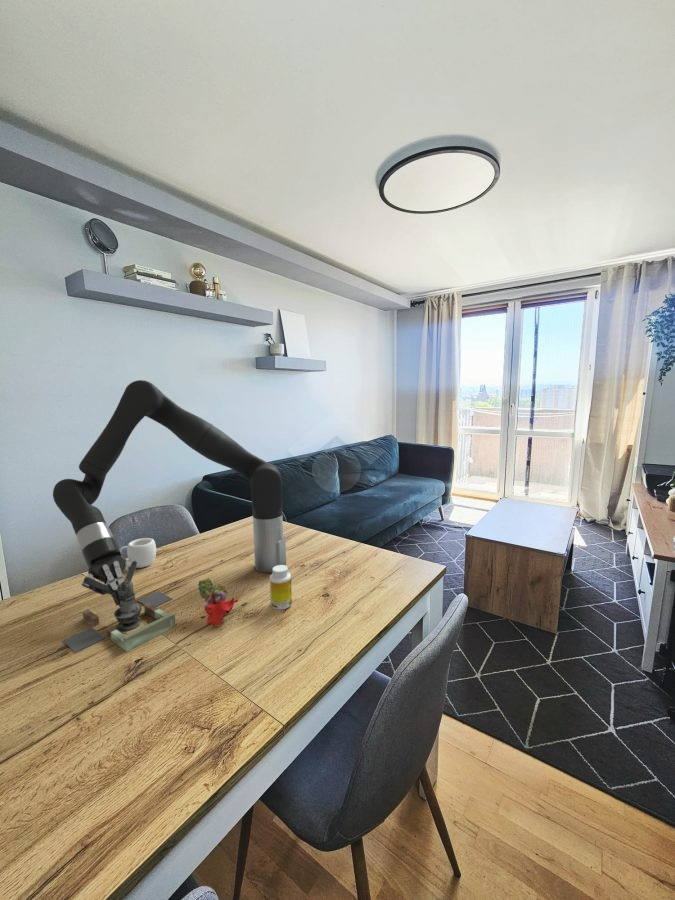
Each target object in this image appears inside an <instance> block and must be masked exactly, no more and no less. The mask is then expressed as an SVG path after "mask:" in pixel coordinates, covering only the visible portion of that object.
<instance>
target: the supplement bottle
mask: <svg viewBox="0 0 675 900" xmlns="http://www.w3.org/2000/svg"><path fill="white" fill-rule="evenodd" d="M292 595H293V594H292V575H291V573H290V572H289V569H288V566H287V565H286V564H285V565H277V566H275V567H273V569H272V572H271V575H270V576H269V598H270V606H271V608H273V609H275V610H277V611H278V610H281V611H282V610H285V609H288V608H289V607H291V605H292V603H293V599H292V598H293V597H292Z"/></svg>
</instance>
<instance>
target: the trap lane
mask: <svg viewBox="0 0 675 900" xmlns="http://www.w3.org/2000/svg"><path fill="white" fill-rule="evenodd" d="M134 601H135V602H136V595H135V596H134ZM143 607H144V608H143V610H144V611H143V612H144V613H145V614H147V615H148V616H150V617H151V618H153V619H154V621H152V622H151V623H149V624H147V625H145V626H142V627H139V629H136V630H134V631H132V632H131V633H129V634H127V635H125V634H124V633H122V631H119V630H118V629H117V628H115V627H113V626H111V627H108V628H107V629H106V633H107V634H106V635H107V638H108V639H109V640H111V641H112V642H114V643H115V644H116V645H117V646H118V647H120V648H121V649H123V650H124V651H125V652H126V653H128V652H130V651H131V650H134V649H135V648H137V647H140V646H141V645H142V644H144V643H147V642H148V641H150V640H152V639H154V638H156V637H158V636H159V635H161V634H163V633H165V632H166V631H168V630H171V629H172V628H175V627H176V625H177V624H176V614H175V613H174V612H170V613H167V612H165V611H163V610H161V608H159V607H158V606H157V607H155V606H153V605H151V604H150V603H147V604H145V605H143ZM82 618H83V620H84V621H86V623H88V624H90V625H91V627H92V626H93V628H95V627H97V626H99V625H100V618H99V616H98V615H97V614H96V613H94V612H93V611H91V610H90V609H89V608H87V609H85V610H82Z"/></svg>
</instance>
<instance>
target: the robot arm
mask: <svg viewBox="0 0 675 900" xmlns="http://www.w3.org/2000/svg"><path fill="white" fill-rule="evenodd" d="M124 389H125V390H124V391H123V394H122V396H121V397H120V400H119V402H118V404H117V407H116V409H115V411H114V412H113V414H112V416H111V418H110V419H109V421H108V423H107V424H106V426H105V427H104V428H103V430H102V432H101V433H100V434H99V436H98V437H97V438H96V440H95V441H94V442H93V444H92V445H91V447H90V448H89V449H88V451H87V452H86V454H85V455H84V457H83V458H82V459H81V461H80V462H79V465H78V469H79V471H80V472H81V473H83V474H84V478H83V479H82V480H77V479H72V478H64V479H61V480H60V481H58V482H57V483H56V484H55V485H54V487H53V491H52V498H53V502H54V503H55V505H56V506H57V508H58V510H60V512H61V513H62V514H63V515H64V516H65V518H66V519H67V520H69V522H70V524H71V527H72V529H73V530H74V533H75V536H76V539H77V543H78V546H79V550H80V551H81V553H82V556H83V557H84V560H85V563H86V565H87V567H88V573H87V574H88V575H87V576H86V577H84V578H83V581H82V582H81V586H82V587H84V588H86V589H89V590H91V591H93V592H95V593H97V594H100V595H101V596H106V595H111V597H112V600H113V601H114V604H115V605H116V606H119V608H120V600H119V599H118V597H119V596H120V588H119V586H120V584H121V583H122V582H124V581H125V580H124V575H123V573H124V569H125V571H127V572H126V575H125V578H127V581H131V582H132V579H133V576H134V573H135V572H136V569H137V568H136V565H137V562H136V561H133V562H128V561H126V560H127V559H126V558H125V557H124V556H123V555H122V551H121V552H120V548H119V545H118V543H117V541H116V539H115V537H114V535H113V532H112V531H111V528H110V527H109V525H107V522H106V520H105V517H104V515H103V513H102V511H101V509H100V508H98V507H96V506H94V505H93V504H95V503H96V501H97V500H98V498H99V496H100V494H101V492H102V488H103V487H104V483H105V480H106V476H107V475H108V473H109V472H110V471H111V469H112V468H113V467H114V465H115V463H116V462H117V460H118V459H119V457H120V455H121V454H122V452H123V450H124V449H125V446H126V444H127V441H128V440H129V437H130V436H131V434H132V433H133V431H134V429H136V427H137V426H138V424H139V423H140V422H141V421H143V419H144V418H145V417H146V418H149V419H151V420H152V421H154V422H156V423H158V424H159V425H162V426H163V427H164V428H166V429H168V430H169V431H170V432H172V433H173V434H174V436H176V437H177V438H178V439H179V440H180V441H182V442H183V443H184V444H185V445H187V446H188V447H189V448H190V449H191V450H193V451H195V452H196V453H198V454H199V455H201V456H203V457H204V458H206V459H208V460H210V461H212V462H214V463H215V464H218V465H221V466H223V467H226V468H228V469H231V470H233V471H234V472H236V473H237V474H239V475H241V476H242V477H243V478H245V479H246V480H247V481H249V482H250V488H251V489H250V490H251V509H252V526H253V529H252V530H253V547H254V548H253V551H254V552H253V553H254V568H255V570H256V571H257V572H258V573H264V574H269V573H271V574H272V569H273V567H275V566H277V565H285V566H286V565H287V552H286V551H287V550H286V549H287V548H286V535H284V525H283V524H284V523H283V504H284V503H283V480H282V476H281V472H280V471H279V469H278V468H277V467H276V466H275V465H274V464H272V463H270V462H268V461H265V460H264V459H262V458H260V457H258V456H256V455H254V454H253V453H251V452H249V451H248V450H247V449H245V448H244V447H243V446H242V445H241V444H239V443H238V442H237V441H235V440H234V439H233V438H231V437H230V436H229V435H227V434H226V433H225V432H224V431H222V430H221V429H220V428H217V427H216V426H215V425H214V424H212V423H210V422H209V421H207V420H205V419H203V418H202V417H200V416H197V415H196V414H193V413H192V412H190V411H188V410H186V409H184V408H182V407H181V406H179V405H178V404H176V403H175V402H174V401H172V399H171V398H169V397H168V396H166V395H165V394H164V393H163V392H162V391H161V390H160V389H159V388H158V387H157V386H156V385H154V383H152V382H150V381H147V380H144V379H139V380H134V381H132V382H130V383H129V384H127V386H126V388H124Z"/></svg>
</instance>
